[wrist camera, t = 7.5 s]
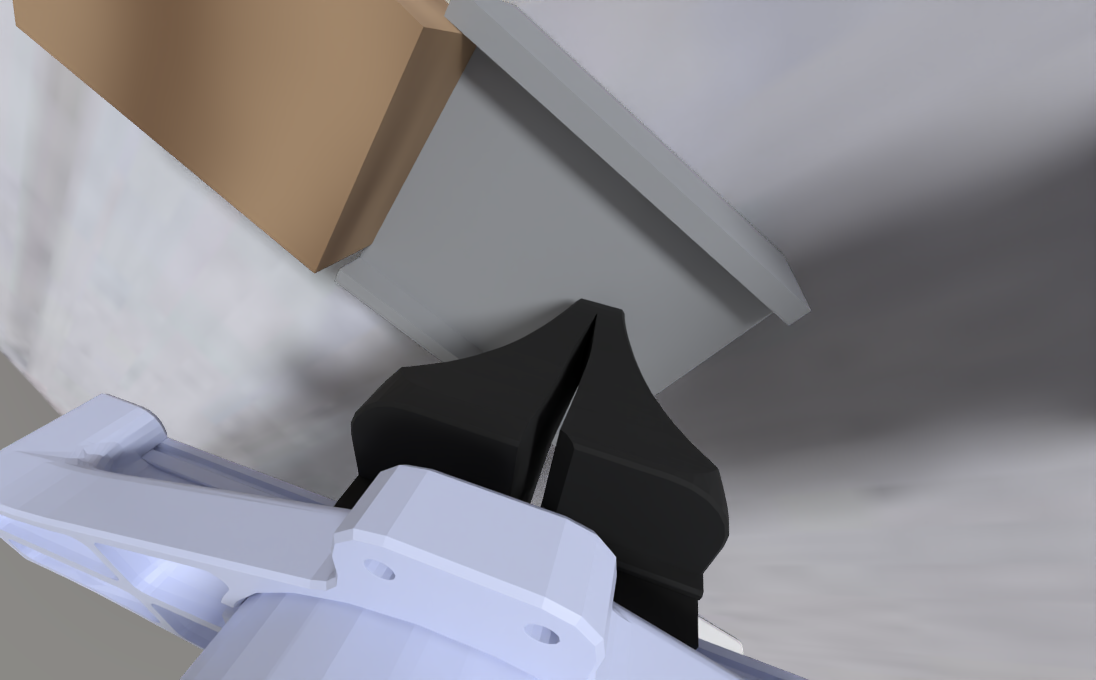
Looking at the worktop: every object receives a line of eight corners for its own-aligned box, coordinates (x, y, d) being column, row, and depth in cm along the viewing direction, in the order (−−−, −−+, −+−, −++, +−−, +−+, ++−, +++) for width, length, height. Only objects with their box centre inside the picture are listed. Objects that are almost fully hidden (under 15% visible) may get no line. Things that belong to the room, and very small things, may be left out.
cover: (481, 36, 10) (423, 26, 8) (371, 244, 14) (314, 273, 12) (137, -308, 8) (-44, -431, 6) (127, 33, 12) (15, 25, 10)
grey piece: (784, 255, 13) (811, 311, 10) (597, 400, 18) (579, 464, 15) (515, 5, 11) (456, -15, 8) (396, 243, 16) (334, 281, 14)
